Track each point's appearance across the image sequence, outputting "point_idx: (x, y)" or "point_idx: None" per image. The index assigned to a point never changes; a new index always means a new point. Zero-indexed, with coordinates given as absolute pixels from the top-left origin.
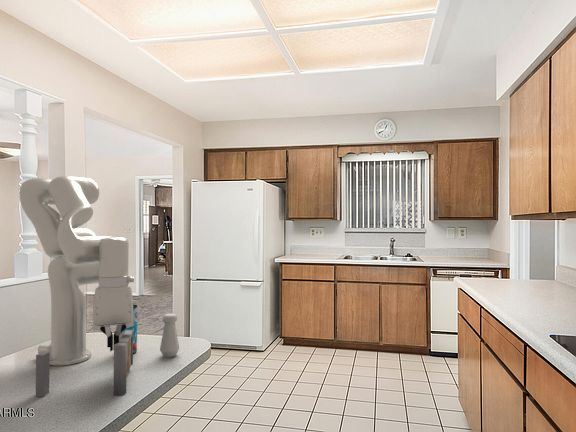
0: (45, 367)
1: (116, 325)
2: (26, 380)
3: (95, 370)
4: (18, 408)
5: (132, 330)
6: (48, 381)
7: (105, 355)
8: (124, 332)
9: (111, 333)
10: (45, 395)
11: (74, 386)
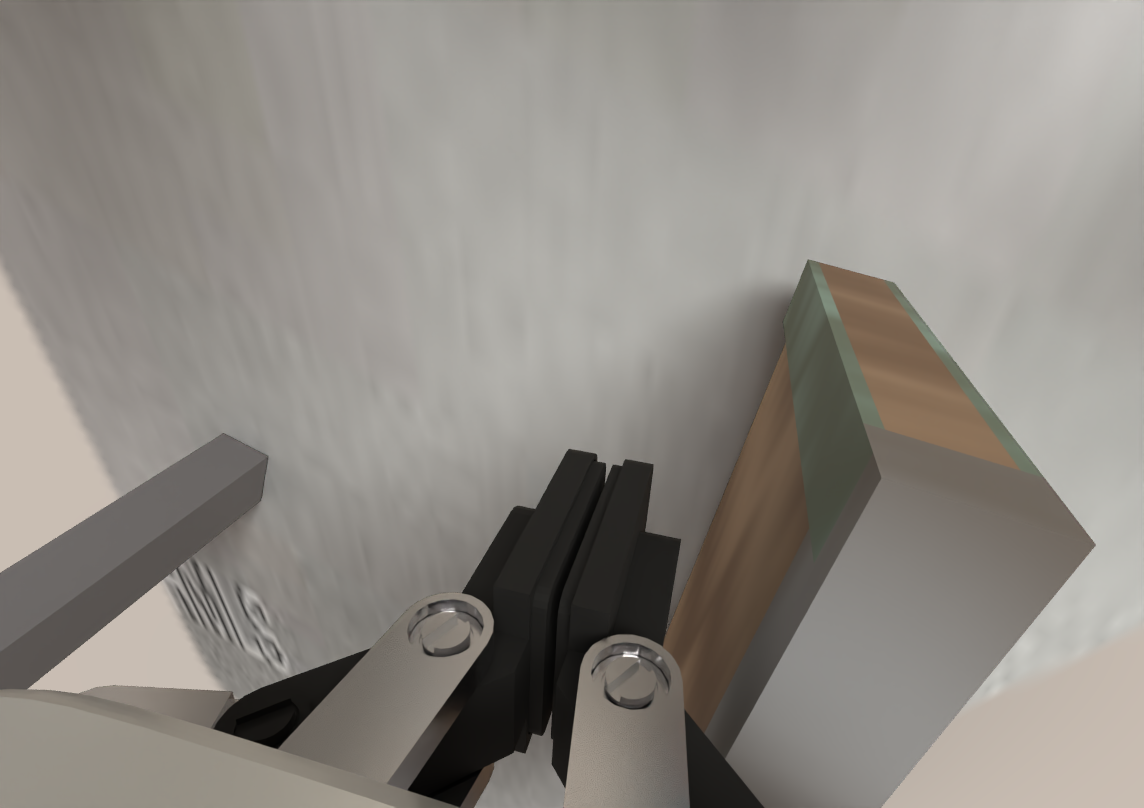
0: (107, 613)
1: (563, 806)
2: (40, 139)
3: (515, 133)
4: (196, 568)
5: (1032, 614)
6: (210, 504)
7: None
8: (784, 656)
9: (499, 756)
10: (262, 488)
11: (391, 437)
